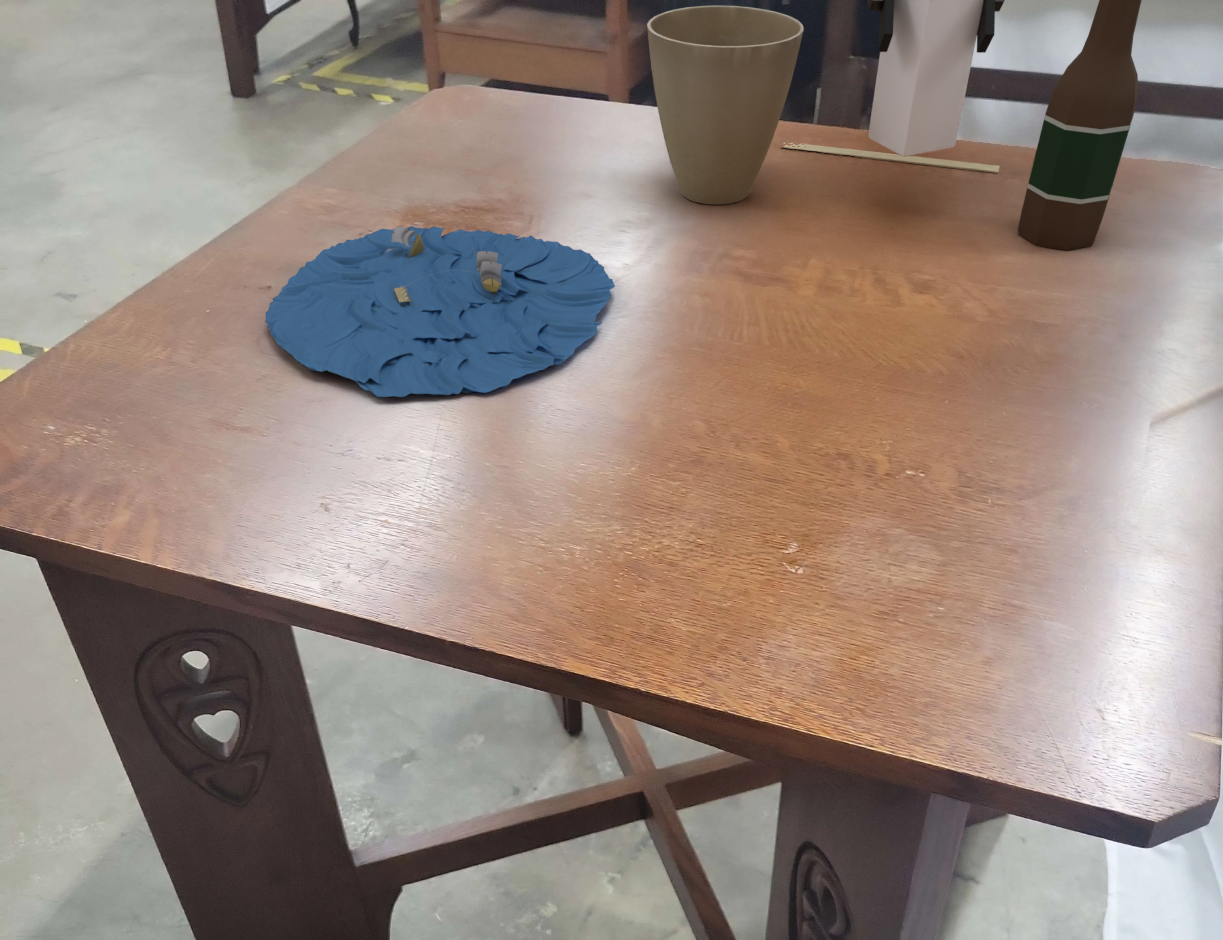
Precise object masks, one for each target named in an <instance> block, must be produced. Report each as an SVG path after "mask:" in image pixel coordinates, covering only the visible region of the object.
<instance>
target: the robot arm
mask: <svg viewBox="0 0 1223 940" xmlns="http://www.w3.org/2000/svg"><path fill="white" fill-rule="evenodd" d="M1005 1H1006V0H984V2H983V7H982V12H981V17H980V22H979V27H978V32H977V38H976V53H977V54H978V53H979V54H981V53H983V54H985V53H986V52H987V50H988V48H989V46H990V44H991V42H992V41H993V38H994V36H995V30H996V29H995V27H996V26H995V25H996V12H1000V11H1001V9H1002V7H1003V5H1004V3H1005ZM867 6H868V9H869V11H870V12H879V18H878V20H879V21H878V53H880V52H887V50H888V47H889V45H890V42H891V39H892V36H893V21H894V0H867Z"/></svg>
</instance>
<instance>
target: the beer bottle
mask: <svg viewBox="0 0 1223 940" xmlns="http://www.w3.org/2000/svg"><path fill="white" fill-rule="evenodd" d="M1141 4H1142V0H1098V3H1097V6H1096V9H1095V13H1094V16H1093V19H1092V21H1091V26H1090V29H1089V32H1088V36H1087V37H1086V40H1085V42H1084V44H1083V47H1082V49H1081V51H1080V53H1079V54H1077V56H1076V57H1075V58H1073V60H1072V61H1071V62H1070V63H1069V65H1068V66H1067V67H1066V69H1065V70H1064V72H1063V73H1062V75H1061V77H1060V79H1059V80H1058V82H1057V84H1056V85H1055V87H1054V89H1053V91H1052V93H1051V94H1050V98H1049V102H1048V105H1047V107H1046V111H1045V114H1044V118H1043V122H1042V126H1041V130H1040V134H1039V138H1038V141H1037V146H1036V151H1035V154H1034V157H1033V163H1032V167H1031V169H1030V170H1031V171H1030V175H1029V178H1028V183H1027V186H1026V187H1027V188H1026V192H1025V195H1024V199H1023V203H1022V207H1021V211H1020V216H1019V222H1018V226H1017V227H1018V228H1017V233H1018V235H1019V236H1021V237H1022V238H1024V239H1025V240H1027V241H1028V242H1030V243H1031V244H1033V245H1035V246H1036V247H1043V248H1049V249H1056V250H1061V251H1071V250H1077V249H1081V248H1088V247H1092V245H1093V244H1094V243H1095V241H1096V237H1097V235H1098V232H1099V230H1100V227H1101V224H1102V221H1103V218H1104V216H1105V214H1106V213H1105V212H1106V209H1107V206H1108V202H1109V199H1110V195H1111V192H1112V189H1113V186H1114V182H1115V180H1116V175H1117V173H1118V169H1119V166H1120V162H1121V159H1122V157H1123V152H1124V149H1125V147H1126V142H1127V138H1128V136H1129V132H1130V129H1131V126H1132V122H1133V119H1134V115H1135V112H1136V107H1137V102H1138V97H1139V76H1138V72H1137V68H1136V66H1135V62H1134V60H1133V56H1132V51H1133V44H1134V37H1135V36H1134V35H1135V31H1136V26H1137V22H1138V19H1139V18H1138V17H1139V13H1140V8H1141Z"/></svg>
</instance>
